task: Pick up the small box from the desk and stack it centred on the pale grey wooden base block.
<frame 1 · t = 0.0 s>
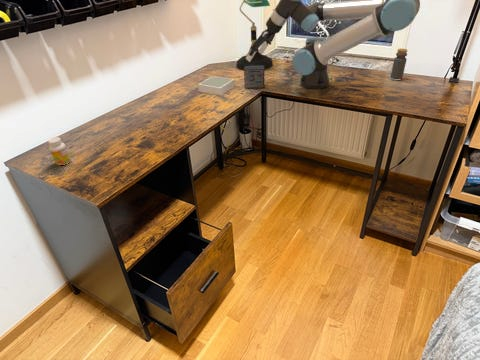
hand: (254, 56, 171), 15 cm above the table, tool tilted 35°, fingers open, 13 cm apart
supplement bottle: (64, 163, 125), on the table
base: (217, 89, 178), on the table
bottle: (395, 79, 177), on the table
banker's lamp: (254, 65, 208), on the table
small box: (254, 87, 179), on the table
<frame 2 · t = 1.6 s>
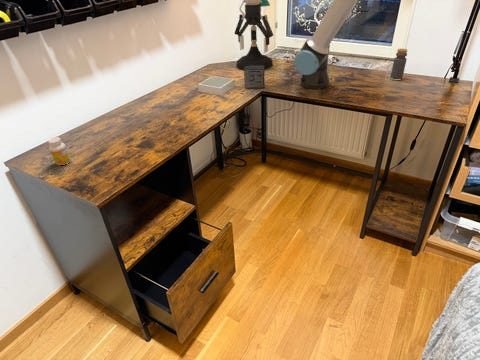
hand: (253, 50, 168), 19 cm above the table, tool pointing down, fingers open, 13 cm apart
nothing on the table moved.
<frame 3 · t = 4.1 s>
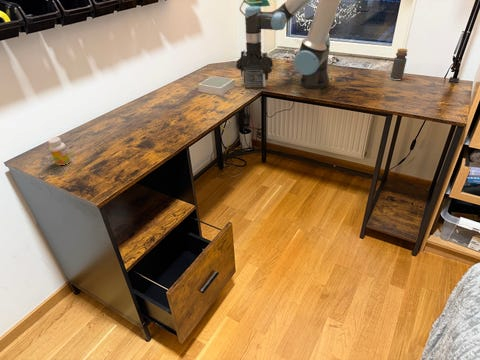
hand: (254, 84, 178), 1 cm above the table, tool pointing down, fingers closed on small box, 12 cm apart
small box: (254, 86, 179), on the table, touching gripper
everything else where it was.
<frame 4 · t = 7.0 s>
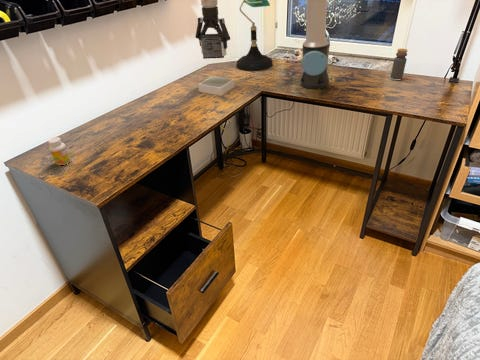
hand: (214, 54, 168), 18 cm above the table, tool pointing down, fingers closed on small box, 12 cm apart
small box: (214, 57, 168), point 17 cm above the table, touching gripper
everything else where it was.
when the fingers open (7 cm above the table, at t = 10.1 s): small box drops 1 cm, resting on base.
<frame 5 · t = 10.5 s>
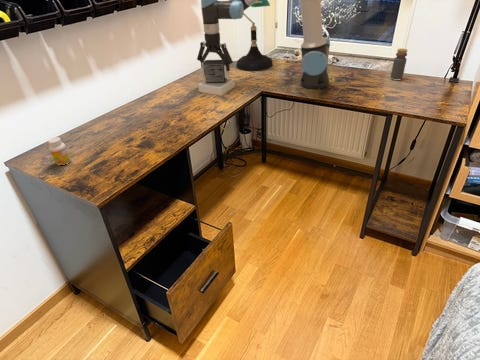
hand: (215, 75, 174), 7 cm above the table, tool pointing down, fingers open, 13 cm apart
small box: (216, 81, 176), point 4 cm above the table, touching base
everything else where it was.
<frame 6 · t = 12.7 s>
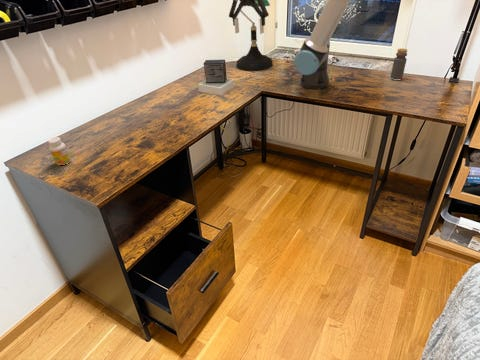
hand: (249, 33, 164), 27 cm above the table, tool pointing down, fingers open, 13 cm apart
nothing on the table moved.
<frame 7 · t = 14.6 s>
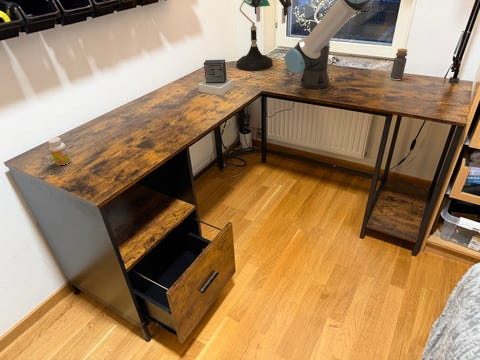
hand: (270, 22, 163), 31 cm above the table, tool pointing down, fingers open, 13 cm apart
nothing on the table moved.
at the end: small box inside the target area on the base (0.1 cm from its centre), point 4.1 cm above the base's base; small box tilted 0°; the gripper is holding nothing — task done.
